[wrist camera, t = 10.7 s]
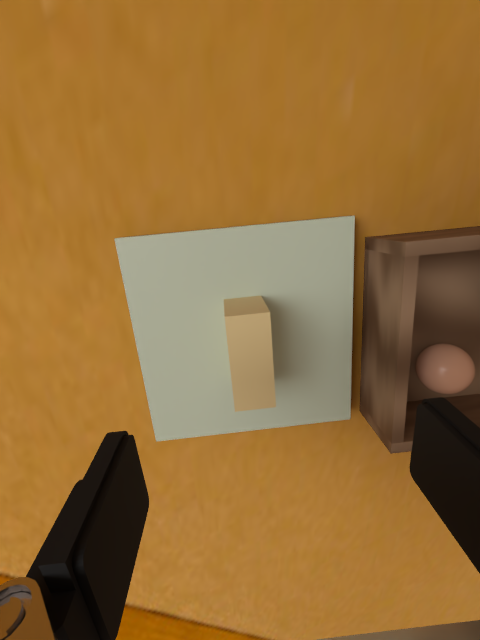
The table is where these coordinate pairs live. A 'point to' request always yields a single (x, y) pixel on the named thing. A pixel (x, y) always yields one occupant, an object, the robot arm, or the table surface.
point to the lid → (243, 325)
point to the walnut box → (416, 324)
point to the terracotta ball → (445, 368)
